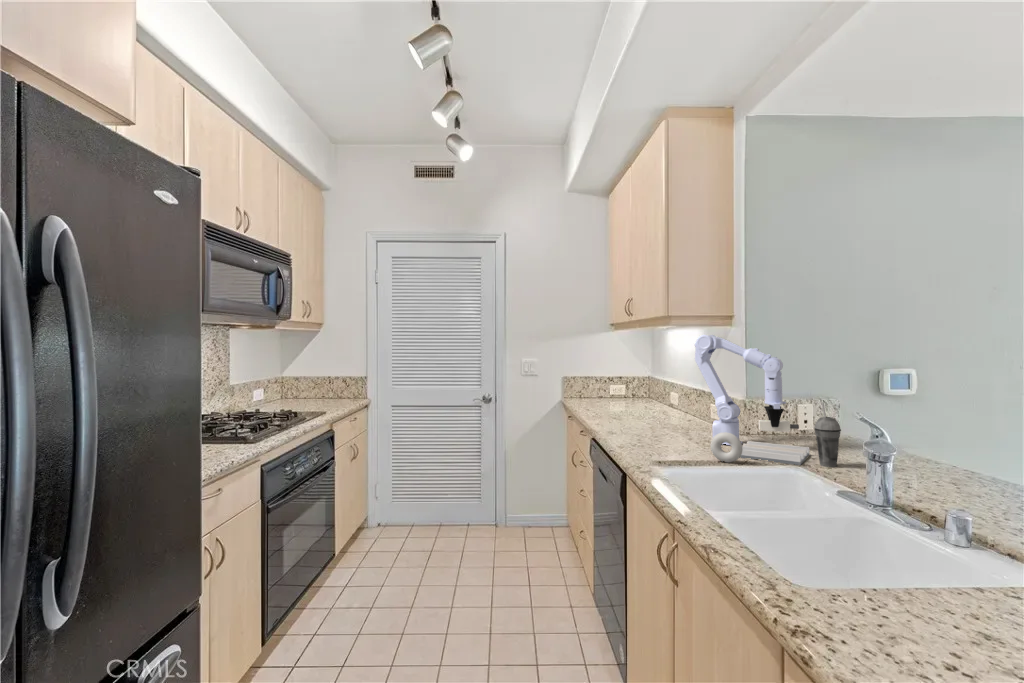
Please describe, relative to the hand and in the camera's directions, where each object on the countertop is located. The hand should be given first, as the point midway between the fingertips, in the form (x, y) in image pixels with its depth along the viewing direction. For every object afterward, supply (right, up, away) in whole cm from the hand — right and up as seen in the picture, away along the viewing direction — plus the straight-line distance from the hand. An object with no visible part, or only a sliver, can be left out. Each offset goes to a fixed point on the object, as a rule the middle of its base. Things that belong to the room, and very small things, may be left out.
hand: (774, 426), depth 182 cm
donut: (-26, -9, -20) cm, 34 cm away
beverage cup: (+3, -8, -26) cm, 28 cm away
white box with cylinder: (+1, -2, 0) cm, 2 cm away
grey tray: (-7, -8, -12) cm, 16 cm away
